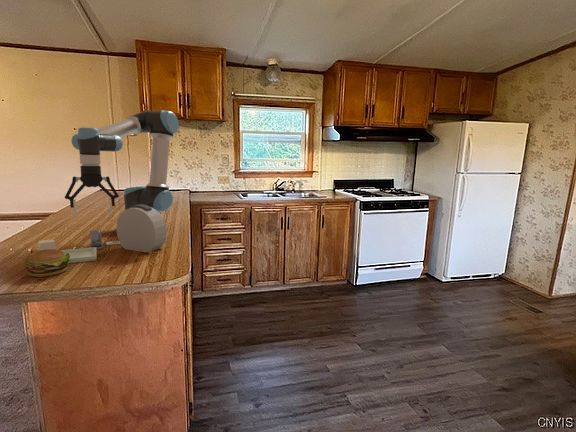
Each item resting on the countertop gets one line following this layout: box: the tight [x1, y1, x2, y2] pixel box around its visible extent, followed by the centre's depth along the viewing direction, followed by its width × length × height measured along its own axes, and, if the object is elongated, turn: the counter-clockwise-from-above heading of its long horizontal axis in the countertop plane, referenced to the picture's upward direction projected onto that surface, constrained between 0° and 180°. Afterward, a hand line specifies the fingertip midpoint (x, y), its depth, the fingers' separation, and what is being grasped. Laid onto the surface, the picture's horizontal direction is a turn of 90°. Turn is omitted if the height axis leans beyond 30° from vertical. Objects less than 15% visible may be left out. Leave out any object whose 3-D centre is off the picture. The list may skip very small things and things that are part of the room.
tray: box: [60, 247, 98, 264], centre depth 140 cm, size 14×14×2 cm
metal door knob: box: [89, 228, 104, 251], centre depth 153 cm, size 5×5×8 cm
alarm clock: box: [116, 204, 168, 253], centre depth 154 cm, size 21×8×20 cm, turn 71°
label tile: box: [106, 240, 121, 246], centre depth 162 cm, size 6×4×1 cm, turn 118°
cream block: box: [37, 238, 57, 251], centre depth 145 cm, size 5×5×5 cm
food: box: [22, 248, 70, 278], centre depth 123 cm, size 14×14×8 cm
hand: (93, 214), depth 151 cm, fingers open, 13 cm apart
